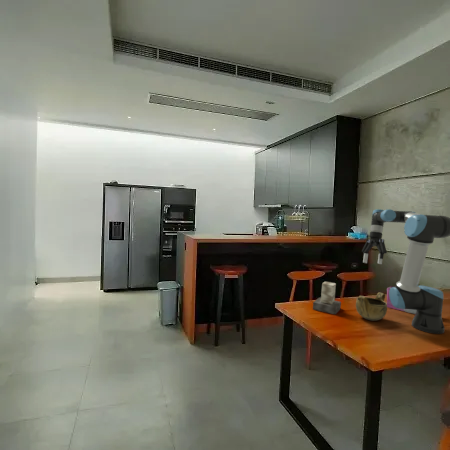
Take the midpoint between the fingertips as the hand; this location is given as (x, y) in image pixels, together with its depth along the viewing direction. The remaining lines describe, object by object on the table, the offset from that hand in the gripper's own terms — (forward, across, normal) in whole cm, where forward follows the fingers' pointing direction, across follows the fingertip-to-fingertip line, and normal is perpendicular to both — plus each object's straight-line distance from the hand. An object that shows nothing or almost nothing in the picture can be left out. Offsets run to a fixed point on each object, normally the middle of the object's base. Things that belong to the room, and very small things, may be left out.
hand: (372, 263), depth 198 cm
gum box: (+26, -4, -28) cm, 38 cm away
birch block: (+30, +4, +26) cm, 40 cm away
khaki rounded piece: (+35, -15, +8) cm, 39 cm away
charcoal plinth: (+35, +4, +26) cm, 44 cm away
